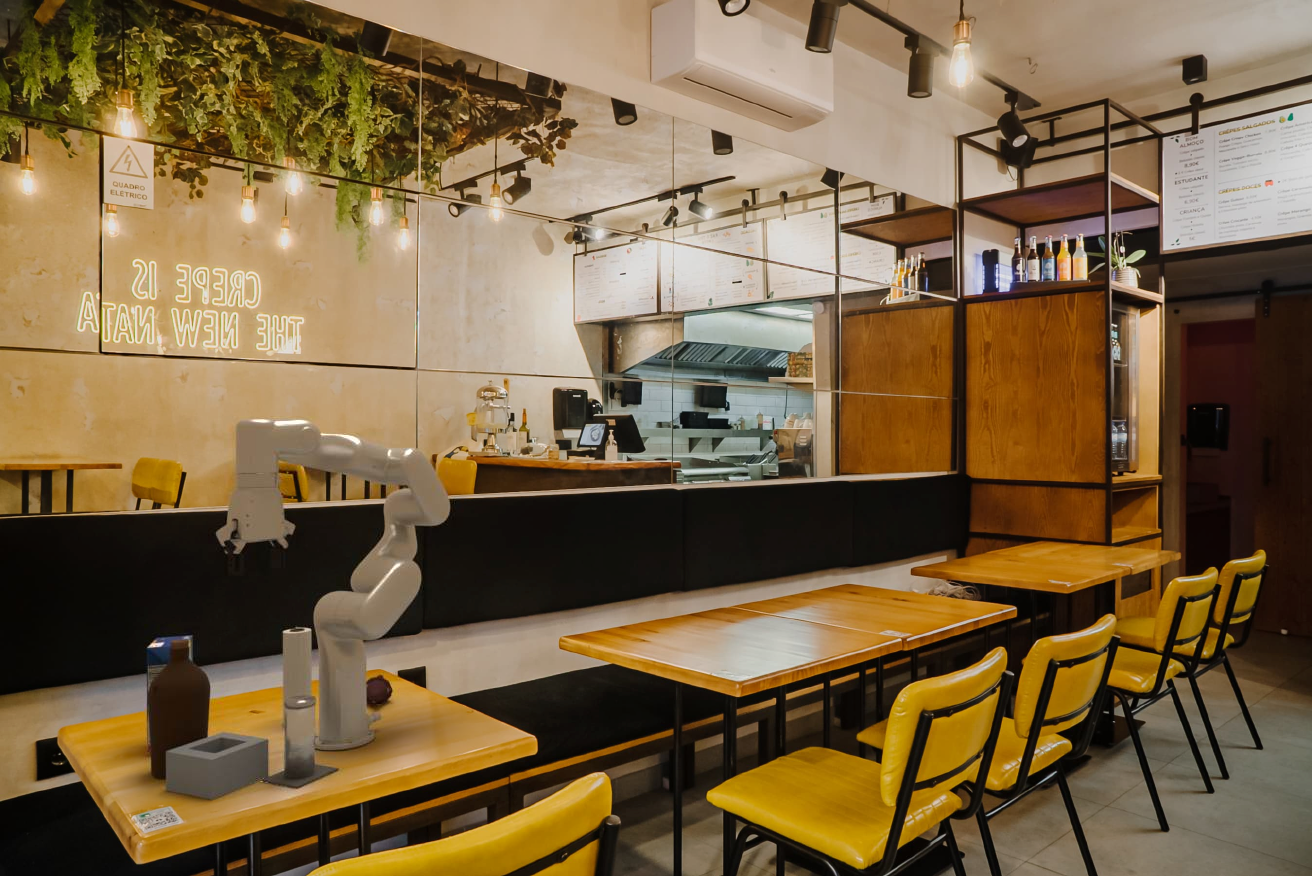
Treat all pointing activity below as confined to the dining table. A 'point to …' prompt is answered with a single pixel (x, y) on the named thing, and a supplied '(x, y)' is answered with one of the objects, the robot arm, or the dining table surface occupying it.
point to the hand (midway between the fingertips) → (257, 571)
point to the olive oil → (177, 706)
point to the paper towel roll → (296, 663)
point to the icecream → (378, 690)
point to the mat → (297, 783)
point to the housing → (216, 765)
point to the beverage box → (160, 665)
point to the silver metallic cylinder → (299, 737)
